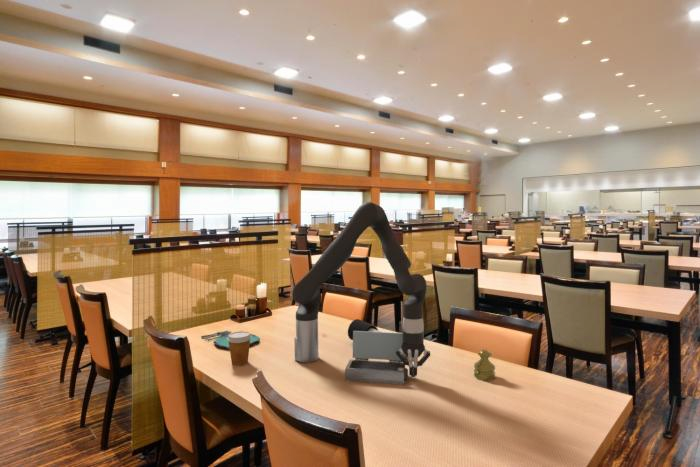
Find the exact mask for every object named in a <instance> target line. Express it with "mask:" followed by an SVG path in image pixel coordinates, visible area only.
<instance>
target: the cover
mask: <svg viewBox="0 0 700 467" xmlns="http://www.w3.org/2000/svg"><path fill="white" fill-rule="evenodd" d="M402 343H403V332H386V331H385V332H383V331H380V332H367V331H353V340H352V358H353V359H354V360H368V361H369V360H380V361H388V362H402V361H401V360H400V358H399V357H398V356H397V354H396V350H397V349H400V348H401V345H402ZM402 351H403V350H402ZM403 355H404V357H405V358H406V355H405V353H404V352H403ZM402 363H403V362H402Z"/></svg>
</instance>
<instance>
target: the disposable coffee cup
mask: <svg viewBox="0 0 700 467" xmlns="http://www.w3.org/2000/svg"><path fill="white" fill-rule="evenodd" d="M250 334H251V333H250V331H245V330H241V331H239V330H238V331H233V332H231V333H230V334H228V338H227V340H228V342H229V348H230V349H229V352H230V359H231V360H230V361H231V365H232V366H233V367H234V366H235V367H241V366H245V365H247V364H248V363H249V354H250V346H251V345H250V339H251V335H250Z"/></svg>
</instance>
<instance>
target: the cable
mask: <svg viewBox="0 0 700 467" xmlns="http://www.w3.org/2000/svg"><path fill="white" fill-rule="evenodd" d="M353 331H367V332H381V331H379V329H378V327H377V326H376V325H373V324H372V323H369V322H367V321H364V320H361V319H359V318H357V319H354V320H352V321H351V322H350V323H349V326H348V328H347V336H348V338H349V339H350V340H352V341H353ZM405 356H406V354H405Z"/></svg>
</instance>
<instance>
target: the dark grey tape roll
mask: <svg viewBox="0 0 700 467" xmlns="http://www.w3.org/2000/svg"><path fill="white" fill-rule="evenodd" d="M394 371H404V383H405V382H407V381H408V380H409V369H408V368H407V367H405V368H404V367H396V368H395V369H394Z"/></svg>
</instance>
